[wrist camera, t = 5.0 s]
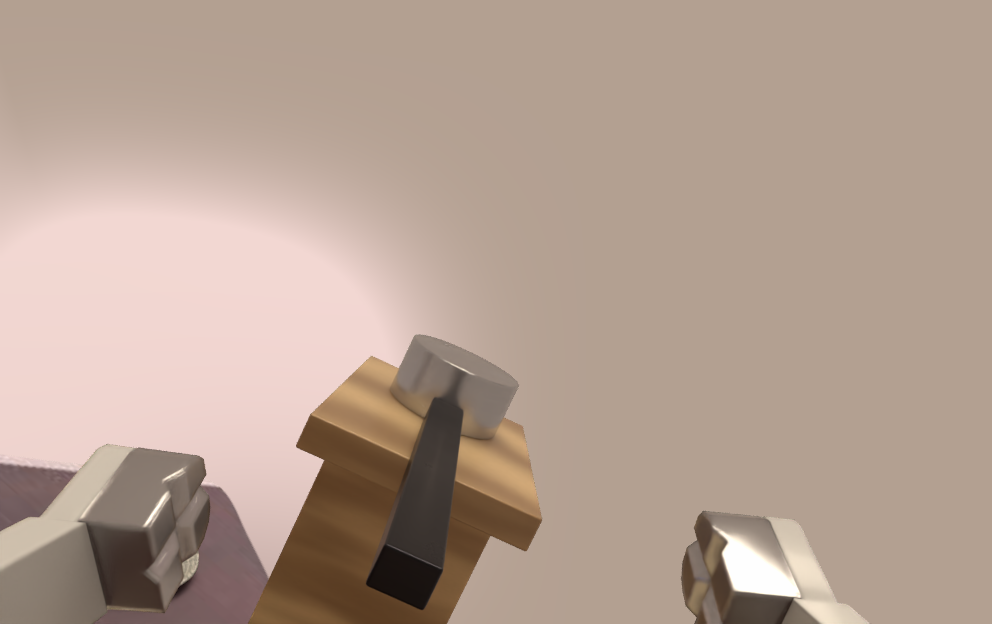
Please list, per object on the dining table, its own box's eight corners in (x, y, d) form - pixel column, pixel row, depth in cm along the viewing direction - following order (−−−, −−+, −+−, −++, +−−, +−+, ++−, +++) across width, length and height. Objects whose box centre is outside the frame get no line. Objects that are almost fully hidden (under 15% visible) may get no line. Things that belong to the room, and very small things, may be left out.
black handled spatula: (397, 376, 38) (420, 328, 38) (493, 420, 39) (516, 373, 38) (280, 549, 16) (332, 439, 16) (504, 648, 17) (558, 542, 17)
